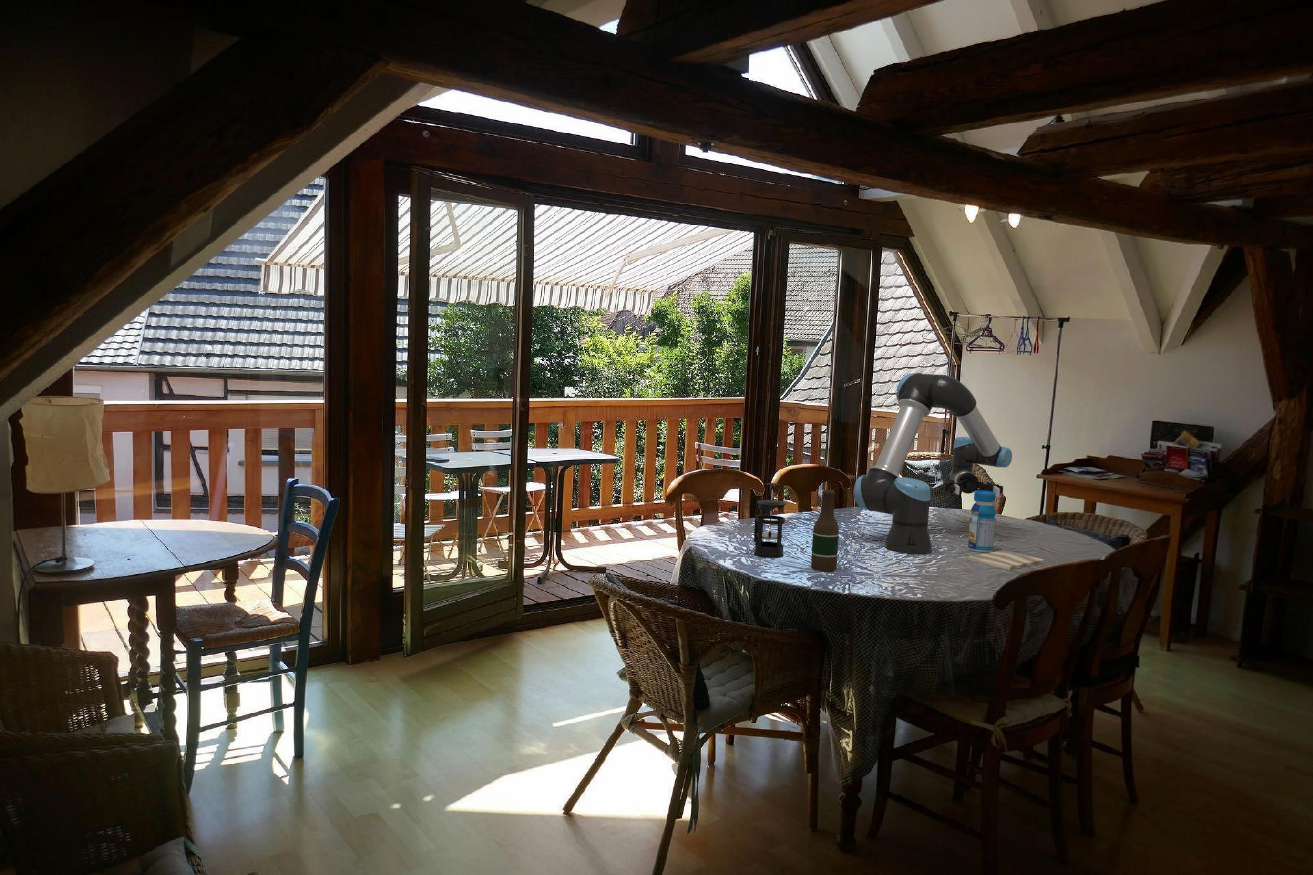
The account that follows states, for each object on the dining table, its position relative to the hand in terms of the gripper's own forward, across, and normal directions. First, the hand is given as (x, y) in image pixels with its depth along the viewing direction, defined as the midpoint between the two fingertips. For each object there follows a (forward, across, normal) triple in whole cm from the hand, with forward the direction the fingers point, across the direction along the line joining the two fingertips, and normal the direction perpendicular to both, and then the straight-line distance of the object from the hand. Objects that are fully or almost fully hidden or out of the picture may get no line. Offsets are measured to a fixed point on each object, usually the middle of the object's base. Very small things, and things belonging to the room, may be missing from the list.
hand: (978, 491), depth 334 cm
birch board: (+27, -4, -18) cm, 33 cm away
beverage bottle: (+12, +1, -18) cm, 22 cm away
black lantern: (+41, +72, -17) cm, 85 cm away
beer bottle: (+56, +55, -17) cm, 80 cm away
